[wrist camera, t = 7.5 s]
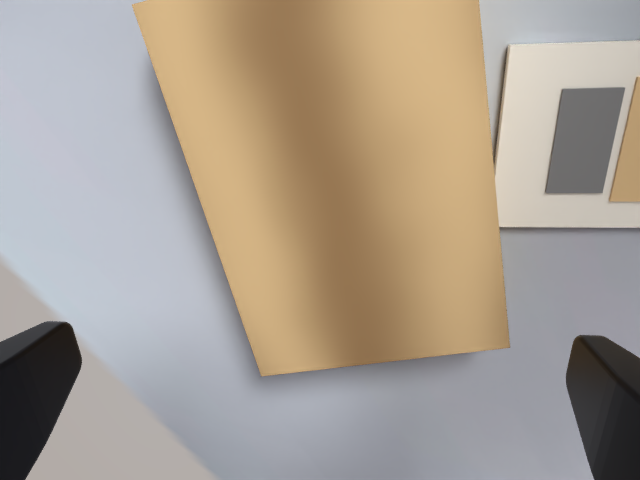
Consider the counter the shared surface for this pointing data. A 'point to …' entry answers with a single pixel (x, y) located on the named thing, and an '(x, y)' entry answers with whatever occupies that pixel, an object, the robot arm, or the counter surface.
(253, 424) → the counter surface
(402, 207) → the base brick
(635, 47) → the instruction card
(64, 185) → the counter surface
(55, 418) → the robot arm
